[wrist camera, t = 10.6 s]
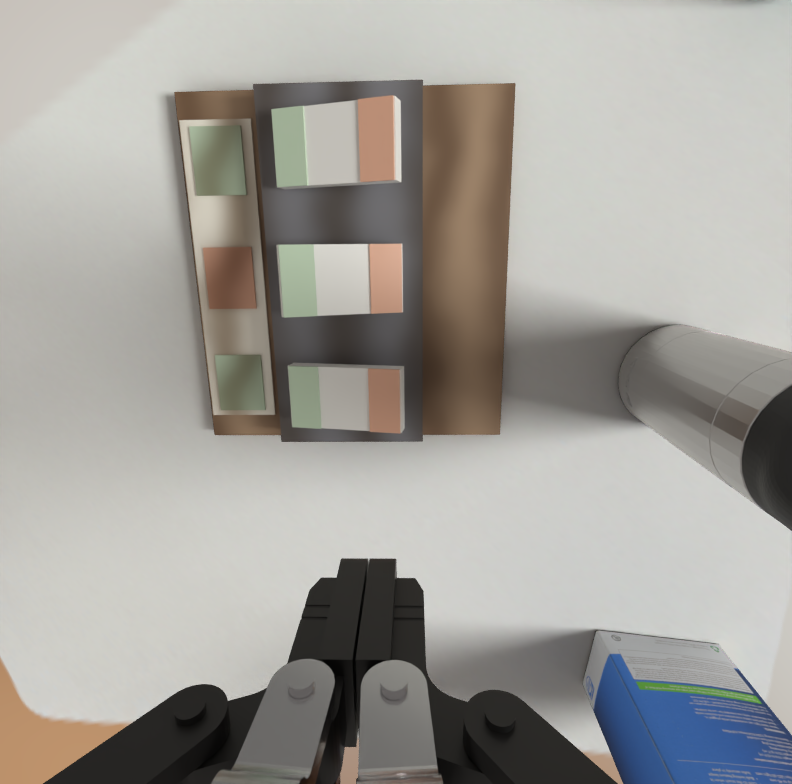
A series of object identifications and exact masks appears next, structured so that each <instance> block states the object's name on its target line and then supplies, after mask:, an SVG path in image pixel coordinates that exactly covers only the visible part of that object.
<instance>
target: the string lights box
mask: <svg viewBox="0 0 792 784" xmlns="http://www.w3.org/2000/svg"><path fill="white" fill-rule="evenodd" d="M583 687H584V689H585V691H586V694H587V696H588V699H589V701H590V704H591V706H592V708H593V711H594V713H595V716H596V718H597V720H598V723H599V725H600V728H601V730H602V733H603V735H604V737H605V740H606V742H607V745H608V747H609V750H610V752H611V755H612V757H613V759H614V762H615V765H616V767H617V769H618V772H619V774H620V777H621V779H622V782H623V784H792V735H791V734H790V733H789V731H788V730H787V729H786V728H785V726H784V725H783V724H782V723H781V721H780V720H779V719H778V718H777V717H776V715H775V714H774V713H773V712H772V710H771V709H770V708H769V707H768V705H767V704H766V703H765V702H764V700H763V699H762V698H761V697H760V695H759V694H758V693H757V692H756V690H755V689H754V688H753V687H752V685H751V684H750V683H749V682H748V680H747V679H746V678H745V677H744V676H743V674H742V673H741V672H740V671H739V669H738V668H737V667H736V665H735V664H734V663H733V662H732V660H731V659H730V658H729V657H728V656H727V654H726V653H725V652H724V650H723V649H722V648H721V647H720V645H719V644H712V643H704V642H694V641H686V640H677V639H669V638H660V637H651V636H642V635H634V634H625V633H616V632H608V631H599V630H598V631H596V634H595V637H594V641H593V645H592V649H591V653H590V657H589V661H588V665H587V669H586V672H585V676H584V680H583Z"/></svg>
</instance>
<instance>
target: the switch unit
mask: <svg viewBox="0 0 792 784" xmlns="http://www.w3.org/2000/svg"><path fill="white" fill-rule="evenodd" d="M253 89H254V90H236V91H198V92H174V93H175V102H176V110H177V119H178V127H179V136H180V144H181V153H182V161H183V170H184V178H185V187H186V195H187V204H188V212H189V221H190V229H191V238H192V246H193V255H194V263H195V272H196V280H197V289H198V297H199V306H200V314H201V323H202V331H203V340H204V348H205V357H206V365H207V374H208V383H209V391H210V400H211V408H212V417H213V425H214V434H215V435H281V440H282V442H403V441H423V435H500V419H501V397H502V374H503V352H504V329H505V306H506V284H507V261H508V239H509V216H510V193H511V171H512V148H513V126H514V103H515V83H507V84H468V85H430V86H423V80H393V81H355V82H317V83H279V84H253ZM390 95H393V96H396V97H397V98H398V99H399V100H400V101H401V182H400V183H384V184H367V185H350V186H334V187H317V188H300V189H282V188H277V181H276V168H275V154H274V140H273V126H272V112H271V109H277V108H286V107H295V106H309V105H318V104H327V103H336V102H344V101H353V100H358V99H364V98H372V97H381V96H390ZM297 244H402V258H403V312H400V313H377V314H349V315H326V316H309V317H286V318H284V317H282V315H281V302H280V289H279V275H278V262H277V248H276V245H297ZM292 363H322V364H354V365H386V366H404V411H405V428H404V430H403V432H402V433H400V434H399V433H382V432H370V431H360V430H343V429H326V428H321V429H315V428H298V427H292V418H291V405H290V391H289V377H288V365H290V364H292Z"/></svg>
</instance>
